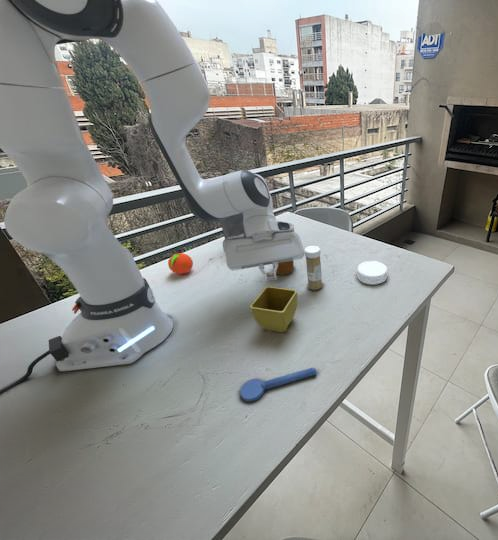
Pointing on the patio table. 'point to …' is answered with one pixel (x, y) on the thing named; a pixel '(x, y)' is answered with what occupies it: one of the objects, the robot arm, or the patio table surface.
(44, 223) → the robot arm
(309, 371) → the spoon
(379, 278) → the white round disc
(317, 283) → the sprinkles bottle
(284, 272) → the disposable coffee cup
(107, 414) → the patio table surface
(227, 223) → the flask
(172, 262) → the clementine
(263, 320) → the flower pot
